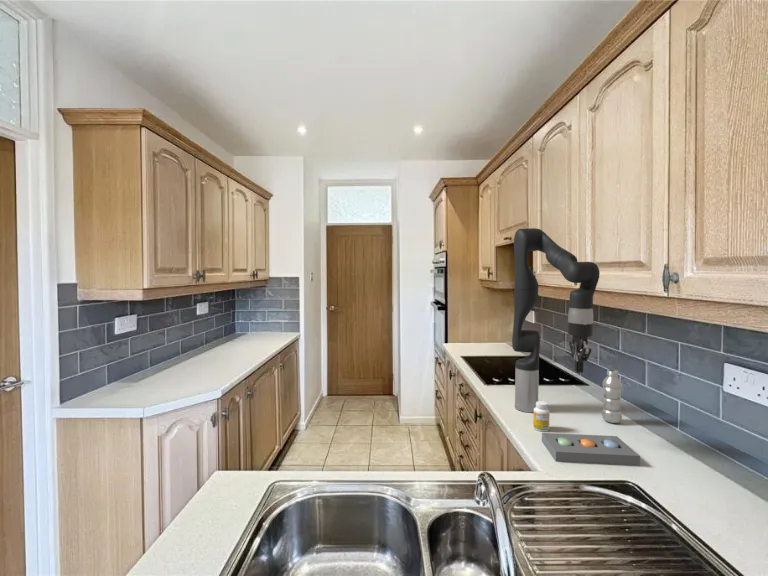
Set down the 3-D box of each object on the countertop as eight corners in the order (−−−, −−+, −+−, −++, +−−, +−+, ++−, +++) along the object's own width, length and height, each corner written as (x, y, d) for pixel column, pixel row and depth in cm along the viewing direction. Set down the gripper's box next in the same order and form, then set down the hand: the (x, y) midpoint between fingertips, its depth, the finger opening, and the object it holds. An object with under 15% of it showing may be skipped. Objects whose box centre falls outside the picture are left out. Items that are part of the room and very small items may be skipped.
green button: (556, 444, 126) (556, 437, 126) (568, 445, 125) (569, 438, 125) (560, 450, 122) (560, 442, 122) (573, 450, 121) (573, 443, 121)
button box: (541, 441, 131) (541, 432, 131) (616, 444, 128) (616, 436, 128) (555, 461, 117) (555, 451, 117) (639, 465, 115) (640, 455, 114)
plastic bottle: (616, 426, 144) (618, 373, 143) (598, 420, 149) (599, 369, 149) (625, 423, 147) (626, 371, 147) (606, 417, 153) (608, 367, 152)
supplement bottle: (536, 424, 145) (536, 399, 145) (551, 428, 142) (551, 402, 142) (531, 429, 141) (531, 403, 141) (546, 433, 138) (547, 406, 137)
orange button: (578, 445, 125) (578, 438, 125) (591, 446, 124) (591, 439, 124) (583, 451, 121) (583, 443, 121) (597, 452, 120) (597, 444, 120)
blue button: (601, 446, 124) (601, 439, 124) (614, 447, 124) (614, 440, 124) (607, 452, 120) (607, 445, 120) (620, 453, 120) (620, 445, 120)
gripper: (561, 318, 136) (560, 366, 137) (576, 324, 123) (575, 377, 124) (583, 318, 136) (582, 367, 137) (601, 324, 122) (599, 378, 124)
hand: (578, 372), depth 130 cm, fingers closed
